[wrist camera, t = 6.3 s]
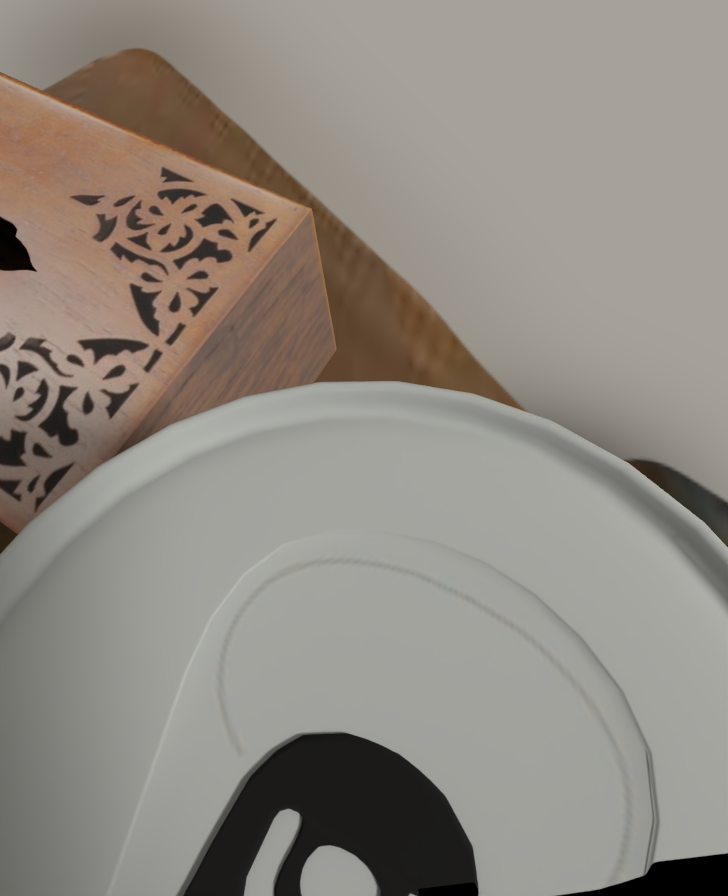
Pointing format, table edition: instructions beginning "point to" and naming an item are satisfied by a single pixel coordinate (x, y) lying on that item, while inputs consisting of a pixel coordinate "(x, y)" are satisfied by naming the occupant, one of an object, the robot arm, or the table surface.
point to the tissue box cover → (134, 293)
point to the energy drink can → (364, 662)
